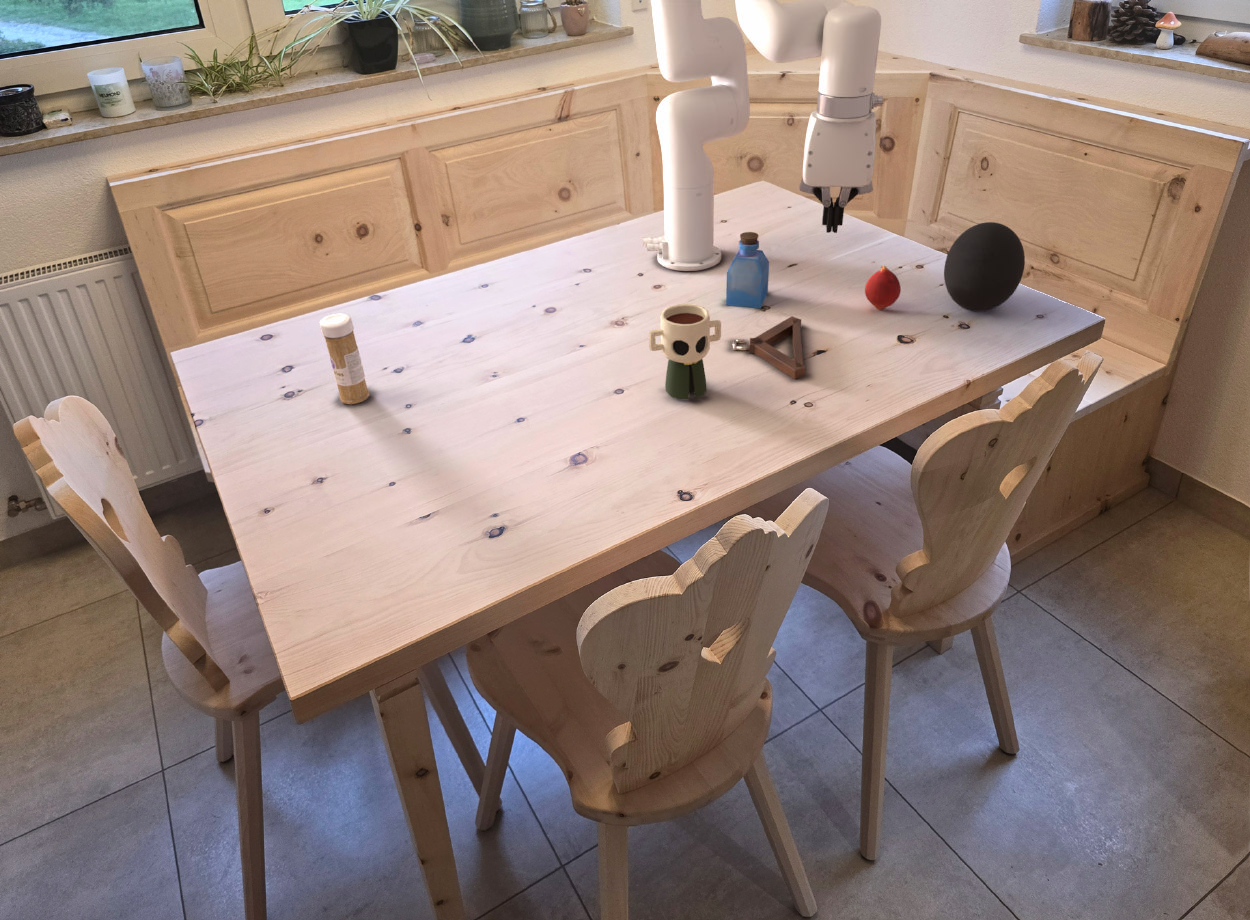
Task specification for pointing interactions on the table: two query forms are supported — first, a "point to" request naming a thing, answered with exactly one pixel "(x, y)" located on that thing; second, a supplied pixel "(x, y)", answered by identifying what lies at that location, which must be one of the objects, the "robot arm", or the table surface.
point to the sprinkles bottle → (345, 358)
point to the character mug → (685, 347)
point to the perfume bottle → (748, 274)
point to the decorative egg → (984, 266)
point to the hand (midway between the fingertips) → (831, 229)
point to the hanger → (775, 357)
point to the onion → (882, 288)
